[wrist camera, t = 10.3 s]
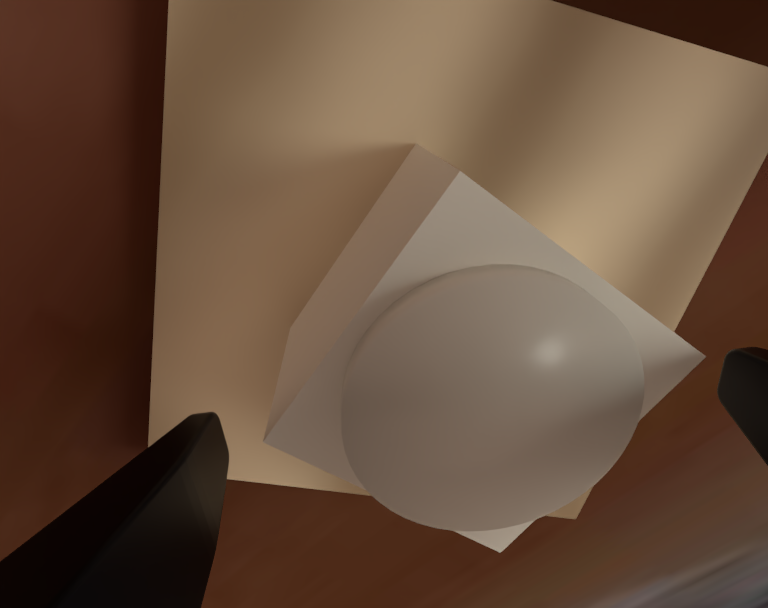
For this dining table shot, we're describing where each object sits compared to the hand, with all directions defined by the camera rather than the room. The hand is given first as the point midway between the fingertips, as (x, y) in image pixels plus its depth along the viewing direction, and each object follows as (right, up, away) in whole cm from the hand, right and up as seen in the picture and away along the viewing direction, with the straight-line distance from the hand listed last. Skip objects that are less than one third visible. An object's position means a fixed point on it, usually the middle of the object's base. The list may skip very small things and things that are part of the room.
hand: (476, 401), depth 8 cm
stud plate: (0, +2, +5) cm, 6 cm away
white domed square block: (0, +2, +4) cm, 5 cm away
